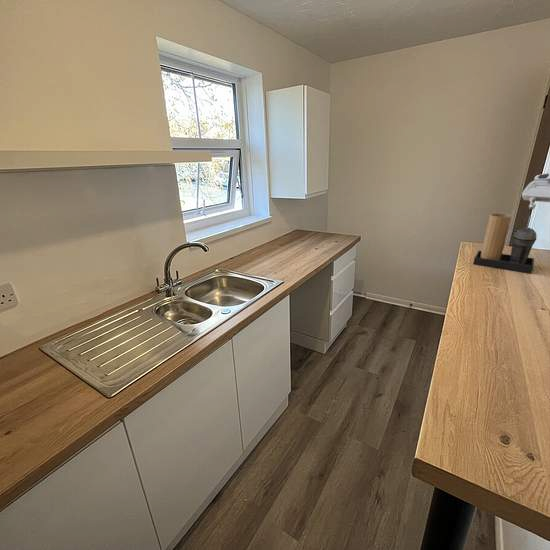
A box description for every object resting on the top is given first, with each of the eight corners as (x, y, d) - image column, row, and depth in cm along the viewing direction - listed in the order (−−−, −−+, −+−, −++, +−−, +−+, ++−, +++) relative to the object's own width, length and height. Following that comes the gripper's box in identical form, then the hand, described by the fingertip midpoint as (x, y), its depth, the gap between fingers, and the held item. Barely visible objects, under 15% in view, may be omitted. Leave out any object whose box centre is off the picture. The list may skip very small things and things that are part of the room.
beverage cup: (505, 266, 120) (518, 217, 112) (505, 261, 126) (518, 213, 118) (528, 270, 116) (544, 219, 108) (527, 264, 122) (542, 215, 114)
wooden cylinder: (496, 260, 128) (508, 213, 121) (501, 266, 122) (514, 217, 115) (477, 259, 131) (488, 213, 123) (481, 264, 125) (493, 216, 117)
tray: (532, 265, 122) (534, 258, 121) (531, 273, 114) (533, 266, 113) (477, 256, 133) (478, 250, 132) (473, 264, 125) (474, 257, 124)
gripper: (598, 188, 113) (580, 218, 112) (533, 185, 129) (516, 211, 128) (599, 177, 109) (580, 207, 108) (531, 175, 126) (514, 201, 125)
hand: (545, 209), depth 119 cm, fingers open, 8 cm apart
